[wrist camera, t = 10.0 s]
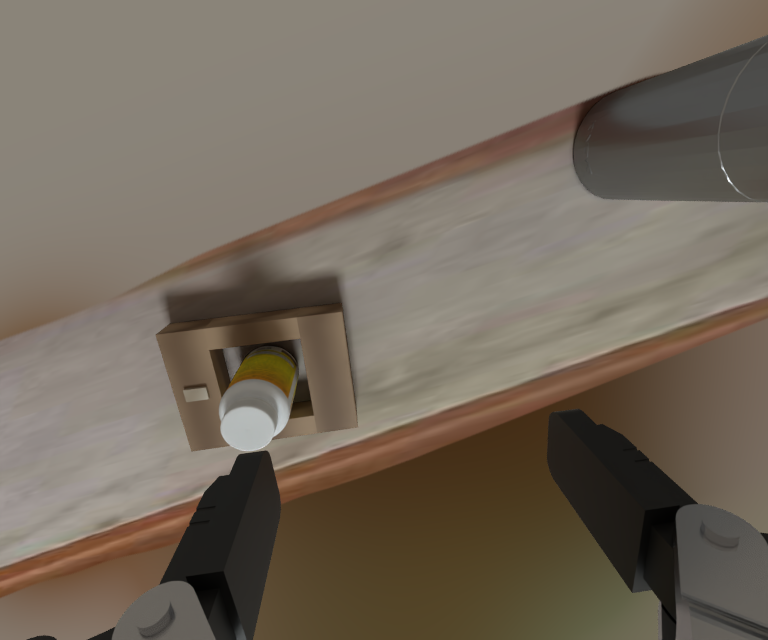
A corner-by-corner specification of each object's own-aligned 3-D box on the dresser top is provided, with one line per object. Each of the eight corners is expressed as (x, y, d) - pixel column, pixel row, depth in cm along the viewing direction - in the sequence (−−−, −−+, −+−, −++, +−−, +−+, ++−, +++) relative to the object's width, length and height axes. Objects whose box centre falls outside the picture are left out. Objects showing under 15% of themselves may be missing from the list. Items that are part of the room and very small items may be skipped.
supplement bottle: (238, 345, 37) (201, 399, 27) (296, 341, 38) (281, 392, 28) (246, 396, 39) (215, 464, 29) (302, 392, 39) (289, 456, 30)
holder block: (341, 302, 37) (342, 312, 34) (356, 410, 41) (358, 429, 37) (170, 323, 36) (154, 336, 32) (202, 432, 39) (190, 453, 36)
